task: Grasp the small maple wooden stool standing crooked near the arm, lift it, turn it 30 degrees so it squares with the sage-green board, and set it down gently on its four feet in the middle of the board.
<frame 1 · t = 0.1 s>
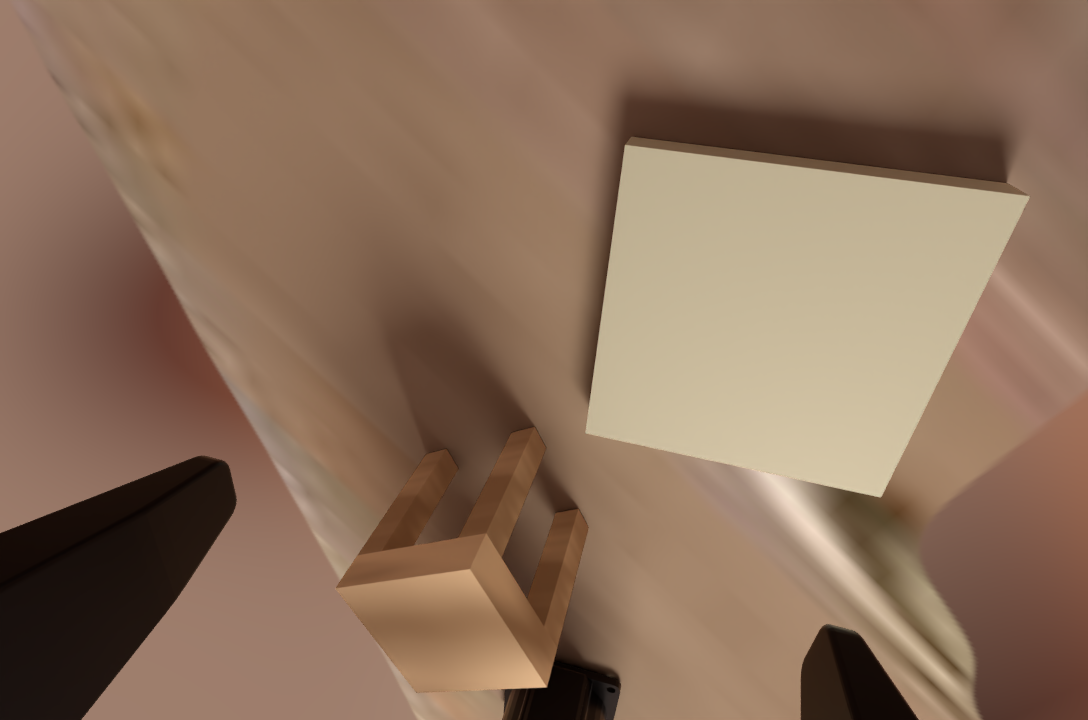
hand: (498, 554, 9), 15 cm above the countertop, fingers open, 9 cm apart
maple stool: (506, 490, 28), on the countertop
sage board: (762, 318, 21), on the countertop
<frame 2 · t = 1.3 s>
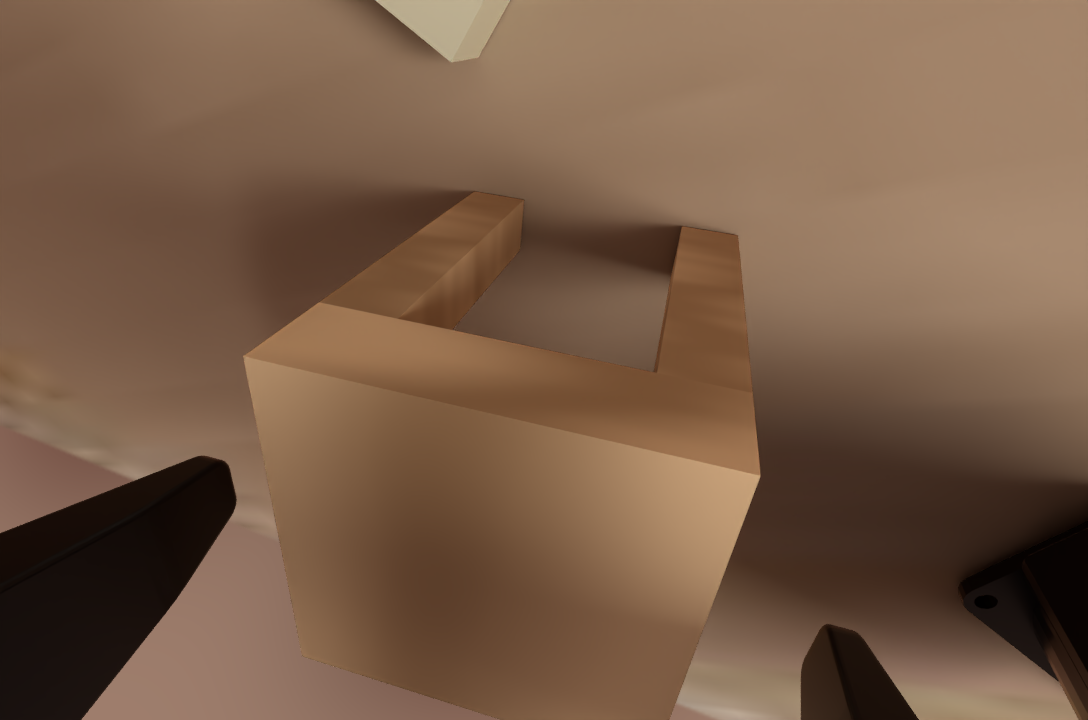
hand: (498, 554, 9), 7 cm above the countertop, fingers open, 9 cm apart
maple stool: (584, 330, 15), on the countertop
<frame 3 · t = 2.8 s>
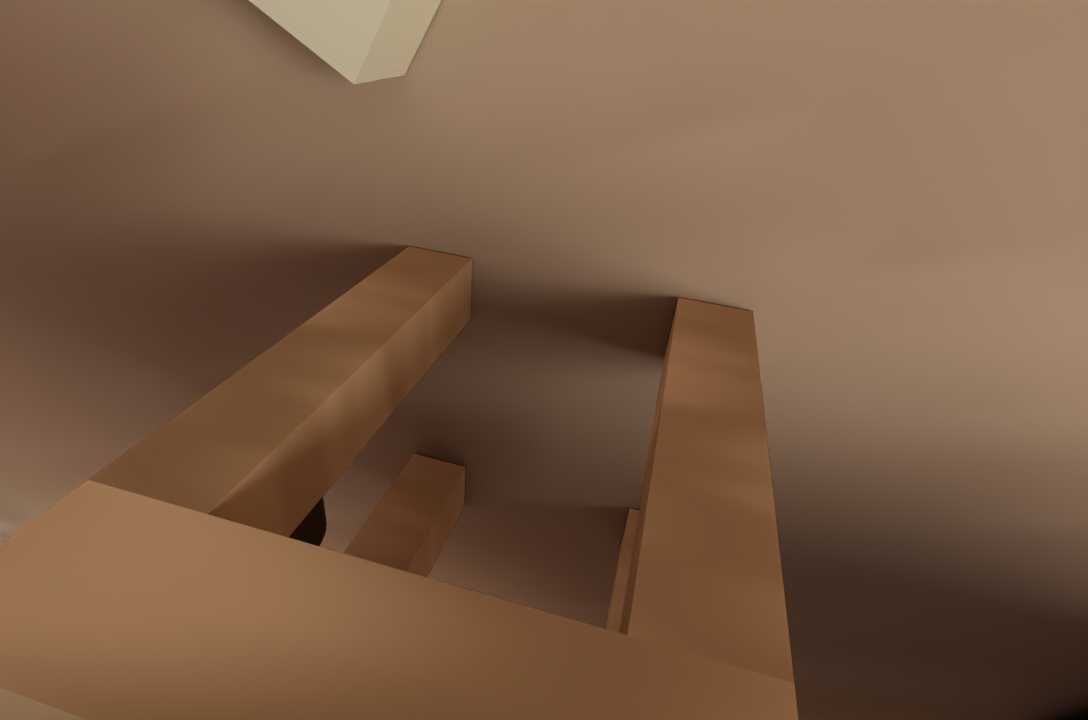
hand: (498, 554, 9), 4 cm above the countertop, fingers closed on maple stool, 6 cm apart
maple stool: (554, 418, 12), on the countertop, touching gripper
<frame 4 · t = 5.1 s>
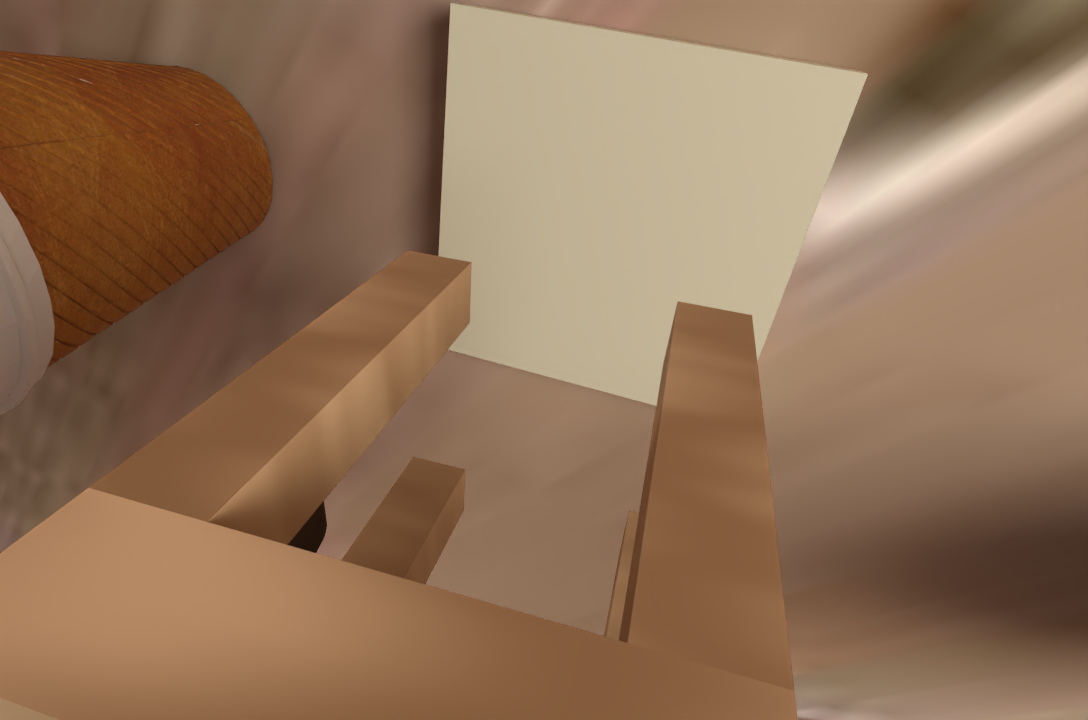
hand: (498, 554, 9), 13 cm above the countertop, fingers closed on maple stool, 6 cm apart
disposable coffee cup: (204, 156, 23), on the countertop
maple stool: (553, 421, 12), point 10 cm above the countertop, touching gripper
sage board: (614, 223, 20), on the countertop
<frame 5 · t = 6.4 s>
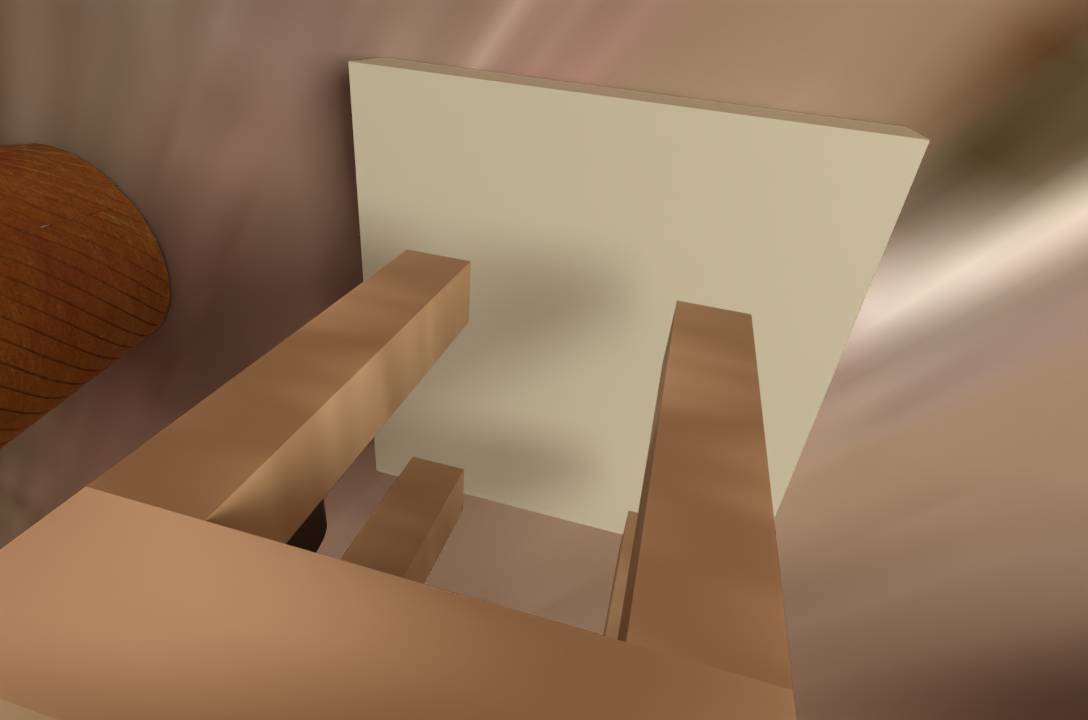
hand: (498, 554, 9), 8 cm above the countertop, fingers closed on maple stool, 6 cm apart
disposable coffee cup: (87, 247, 19), on the countertop
maple stool: (552, 421, 12), point 4 cm above the countertop, touching gripper
sage board: (590, 322, 15), on the countertop
when the fingers open (6 cm above the countertop, at t = 7.7 s): maple stool stays where it is, resting on sage board.
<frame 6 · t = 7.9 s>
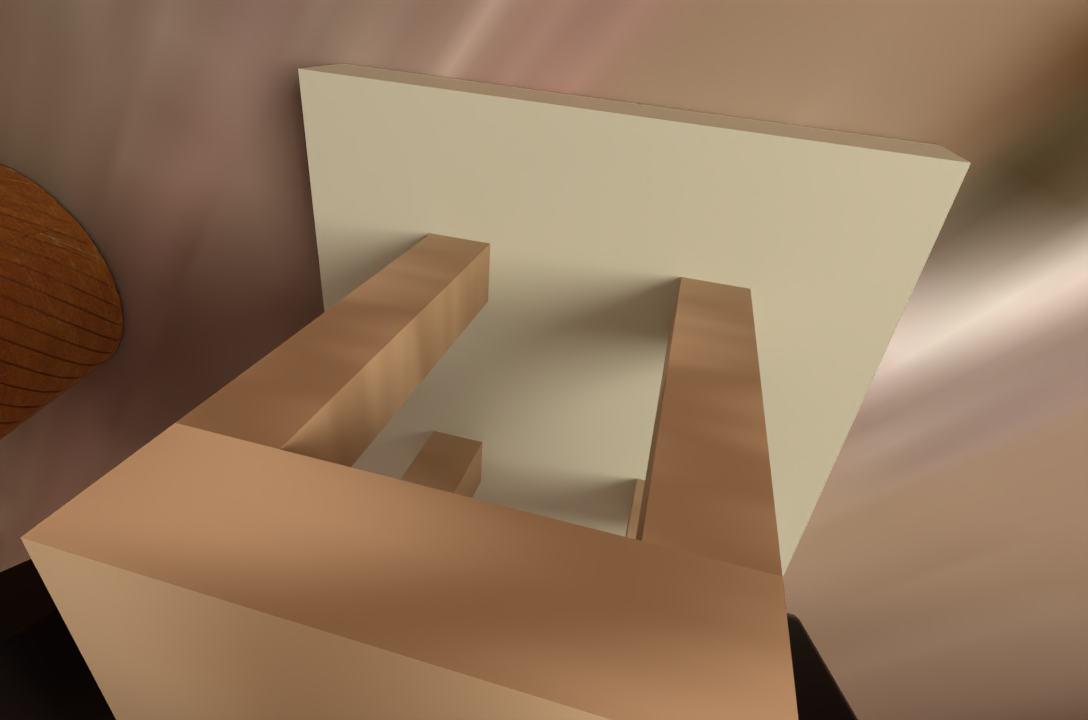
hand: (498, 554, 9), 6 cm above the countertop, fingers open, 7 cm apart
disposable coffee cup: (34, 268, 17), on the countertop
maple stool: (566, 394, 12), point 1 cm above the countertop, touching sage board
sage board: (578, 357, 14), on the countertop
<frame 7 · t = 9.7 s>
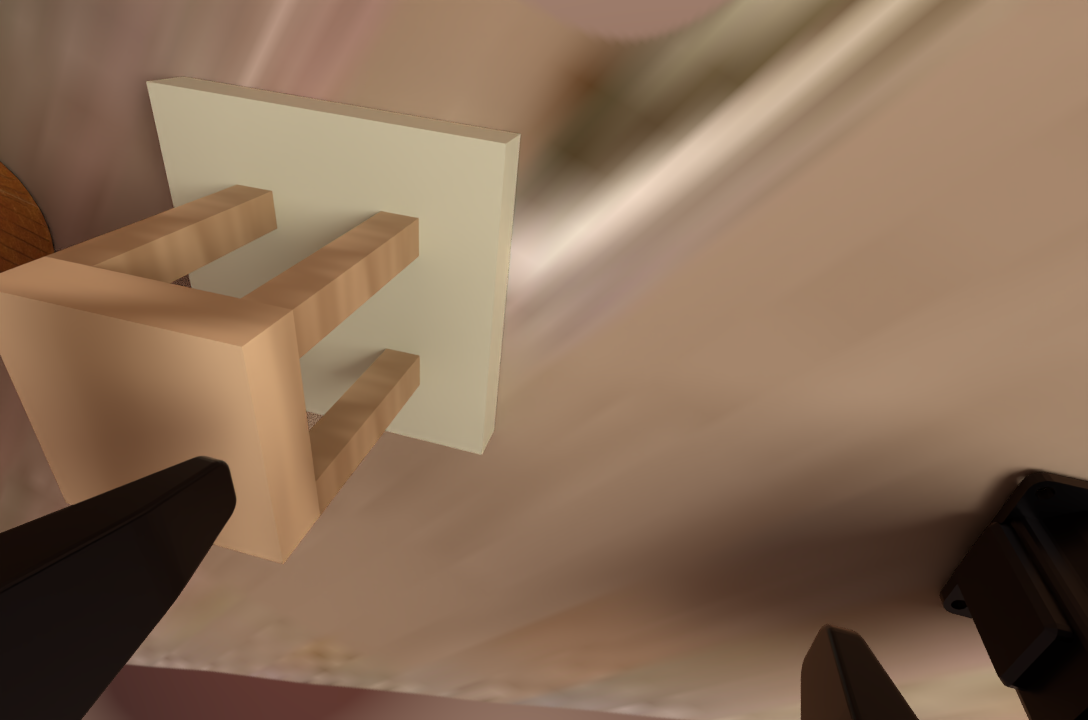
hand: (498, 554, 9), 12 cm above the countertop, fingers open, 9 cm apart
maple stool: (333, 290, 20), point 1 cm above the countertop, touching sage board
sage board: (355, 271, 21), on the countertop
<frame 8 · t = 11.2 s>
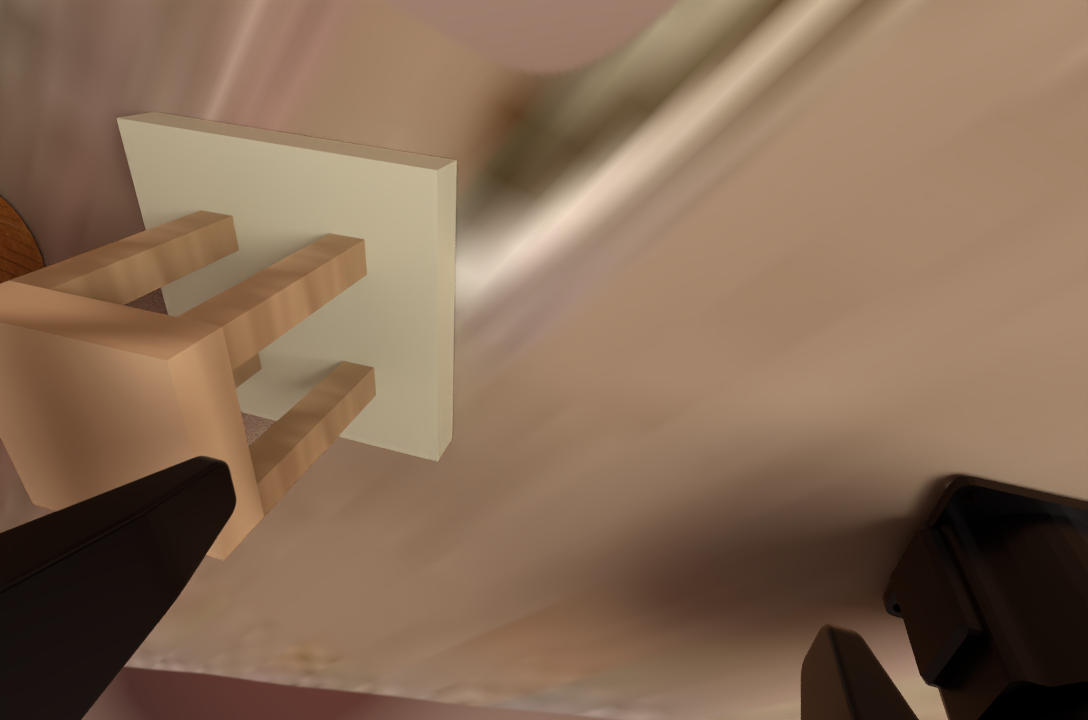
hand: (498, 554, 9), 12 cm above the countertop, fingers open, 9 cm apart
maple stool: (292, 307, 21), point 1 cm above the countertop, touching sage board
sage board: (315, 289, 22), on the countertop
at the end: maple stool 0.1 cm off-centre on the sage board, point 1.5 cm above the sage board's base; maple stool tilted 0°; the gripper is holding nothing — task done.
